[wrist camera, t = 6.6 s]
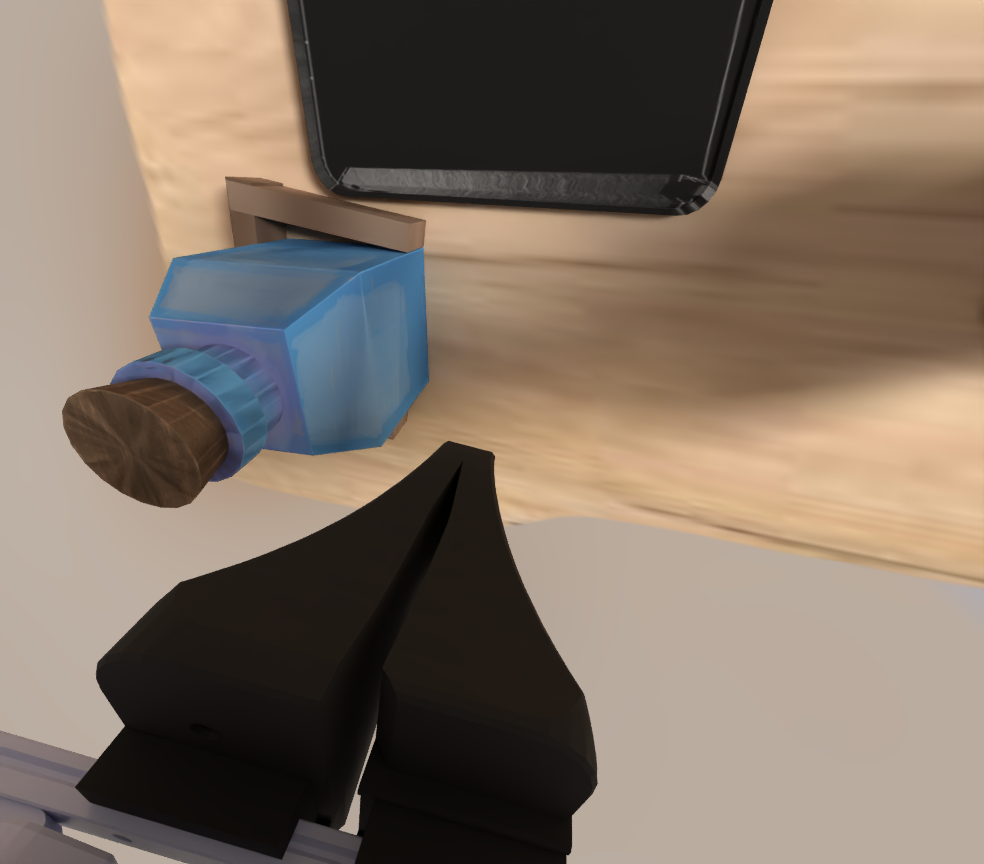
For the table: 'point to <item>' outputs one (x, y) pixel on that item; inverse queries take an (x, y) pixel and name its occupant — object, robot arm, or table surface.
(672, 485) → the table surface
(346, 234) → the bracket
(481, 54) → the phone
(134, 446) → the perfume bottle
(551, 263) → the table surface
